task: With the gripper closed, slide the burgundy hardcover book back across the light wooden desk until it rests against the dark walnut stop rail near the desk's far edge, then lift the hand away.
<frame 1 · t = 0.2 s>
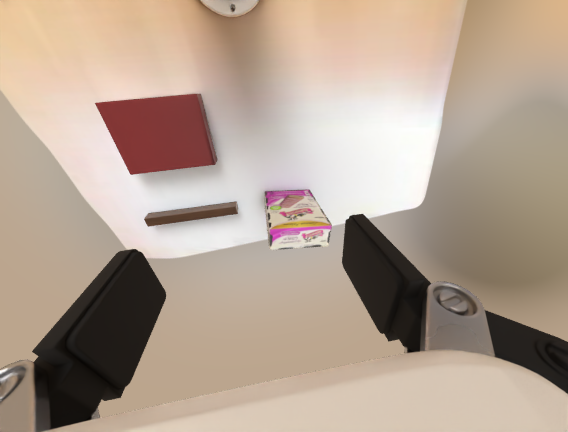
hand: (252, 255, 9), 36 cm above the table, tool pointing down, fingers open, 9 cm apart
book: (167, 134, 38), on the table
stop rail: (194, 211, 47), on the table
candy bar box: (286, 198, 49), on the table
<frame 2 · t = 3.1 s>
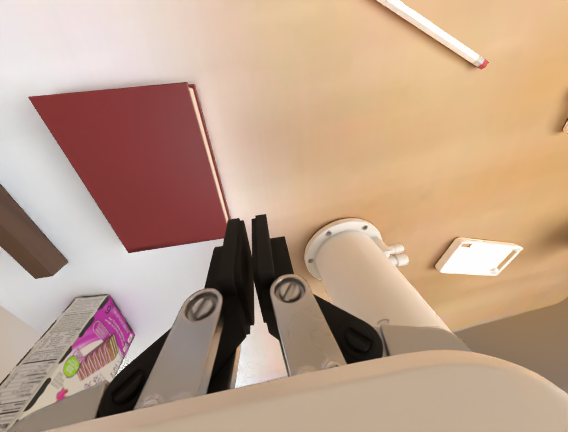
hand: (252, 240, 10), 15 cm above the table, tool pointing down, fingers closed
book: (163, 173, 23), on the table
pencil: (415, 23, 19), on the table
phone case: (473, 254, 38), on the table
candy bar box: (110, 315, 33), on the table
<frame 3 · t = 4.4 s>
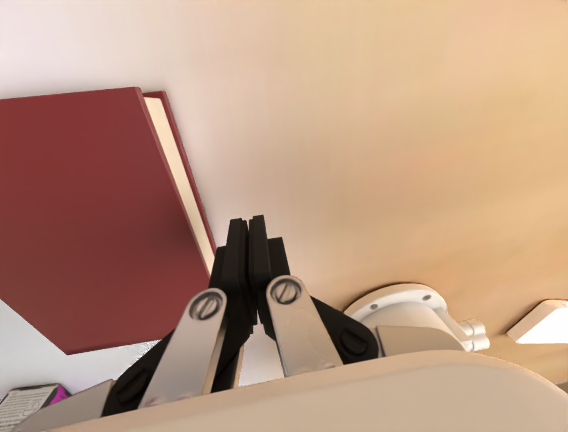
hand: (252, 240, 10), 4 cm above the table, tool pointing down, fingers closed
book: (121, 233, 14), on the table
phone case: (559, 317, 28), on the table
candy bar box: (65, 404, 24), on the table
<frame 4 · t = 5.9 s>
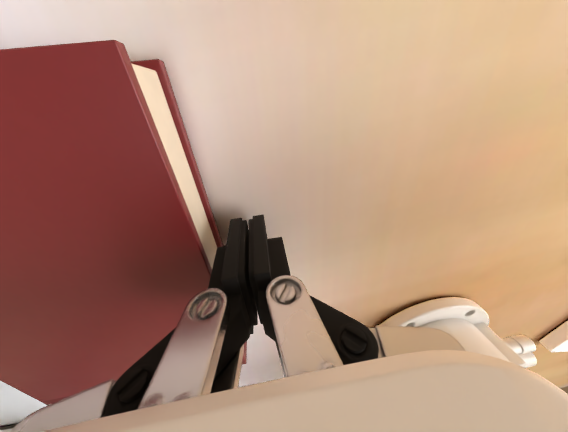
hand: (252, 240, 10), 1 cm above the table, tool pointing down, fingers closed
book: (109, 255, 11), on the table, touching gripper
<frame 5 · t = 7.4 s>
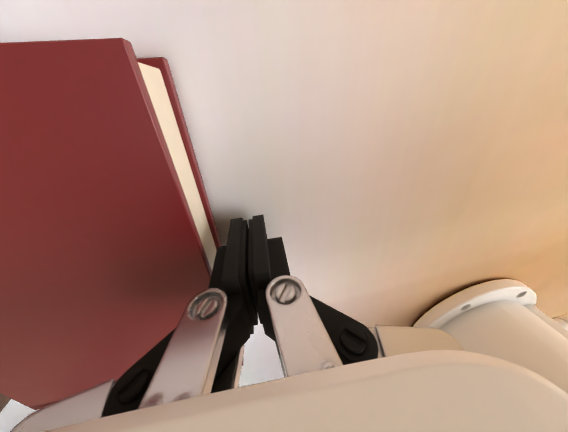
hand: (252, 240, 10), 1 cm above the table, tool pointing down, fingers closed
book: (104, 255, 11), on the table, touching gripper
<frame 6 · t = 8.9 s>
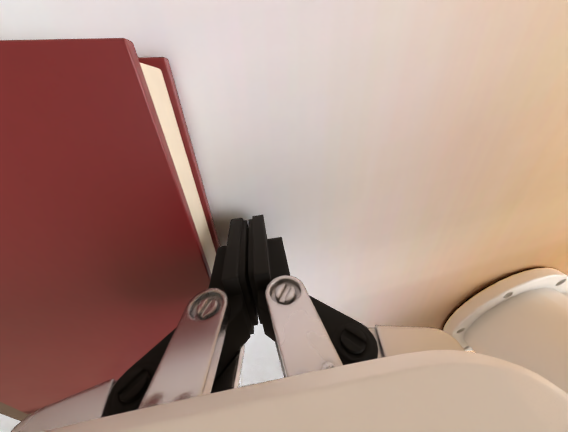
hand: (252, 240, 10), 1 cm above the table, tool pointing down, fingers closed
book: (100, 257, 10), on the table, touching gripper, stop rail
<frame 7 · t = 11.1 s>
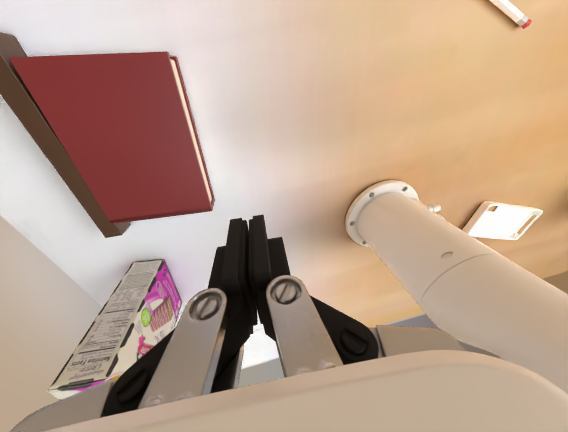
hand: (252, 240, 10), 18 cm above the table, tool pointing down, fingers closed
book: (146, 146, 23), on the table
phone case: (497, 219, 41), on the table
stop rail: (77, 153, 23), on the table
candy bar box: (160, 282, 34), on the table
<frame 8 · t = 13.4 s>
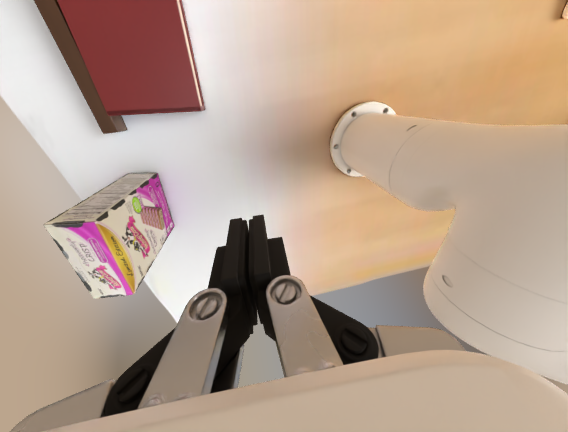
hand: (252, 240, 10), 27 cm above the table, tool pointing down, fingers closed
book: (142, 42, 26), on the table
stop rail: (79, 44, 25), on the table
candy bar box: (154, 200, 36), on the table
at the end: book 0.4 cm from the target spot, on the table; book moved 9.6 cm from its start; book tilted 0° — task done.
